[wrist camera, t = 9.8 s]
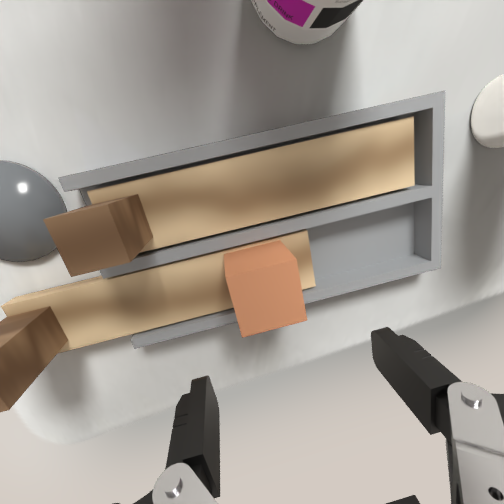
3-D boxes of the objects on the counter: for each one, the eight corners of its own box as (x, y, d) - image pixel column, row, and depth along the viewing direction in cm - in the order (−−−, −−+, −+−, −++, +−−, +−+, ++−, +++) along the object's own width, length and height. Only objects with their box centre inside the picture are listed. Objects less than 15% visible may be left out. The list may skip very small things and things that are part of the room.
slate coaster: (-68, 173, 20) (-76, 173, 19) (40, 149, 20) (34, 149, 20) (-11, 269, 22) (-17, 271, 22) (83, 246, 23) (80, 248, 22)
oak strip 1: (96, 189, 21) (33, 201, 14) (400, 119, 22) (486, 97, 15) (121, 252, 23) (78, 291, 16) (402, 184, 24) (480, 191, 17)
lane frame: (75, 176, 21) (58, 177, 19) (421, 98, 23) (445, 90, 20) (142, 332, 26) (134, 348, 24) (421, 259, 28) (440, 268, 25)
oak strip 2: (15, 297, 23) (-96, 368, 15) (301, 226, 24) (344, 256, 16) (44, 347, 25) (-40, 436, 17) (310, 279, 26) (352, 330, 18)
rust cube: (223, 254, 22) (225, 277, 18) (279, 239, 23) (296, 259, 18) (237, 304, 24) (242, 337, 19) (289, 290, 24) (307, 320, 20)
